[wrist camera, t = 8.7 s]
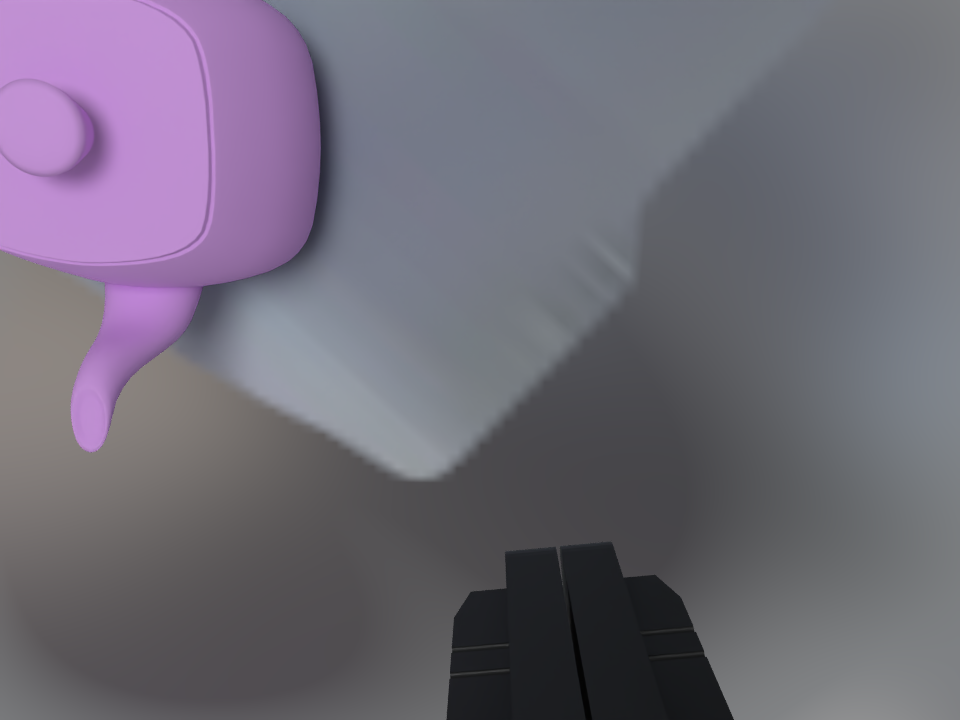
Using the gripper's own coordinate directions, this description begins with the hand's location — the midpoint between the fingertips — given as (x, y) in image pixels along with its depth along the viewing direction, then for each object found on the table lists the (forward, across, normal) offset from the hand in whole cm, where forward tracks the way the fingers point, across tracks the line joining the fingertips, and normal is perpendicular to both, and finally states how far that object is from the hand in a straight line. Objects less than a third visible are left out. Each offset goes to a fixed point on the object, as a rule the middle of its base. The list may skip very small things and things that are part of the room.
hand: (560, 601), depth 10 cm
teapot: (+35, +18, -8) cm, 41 cm away
